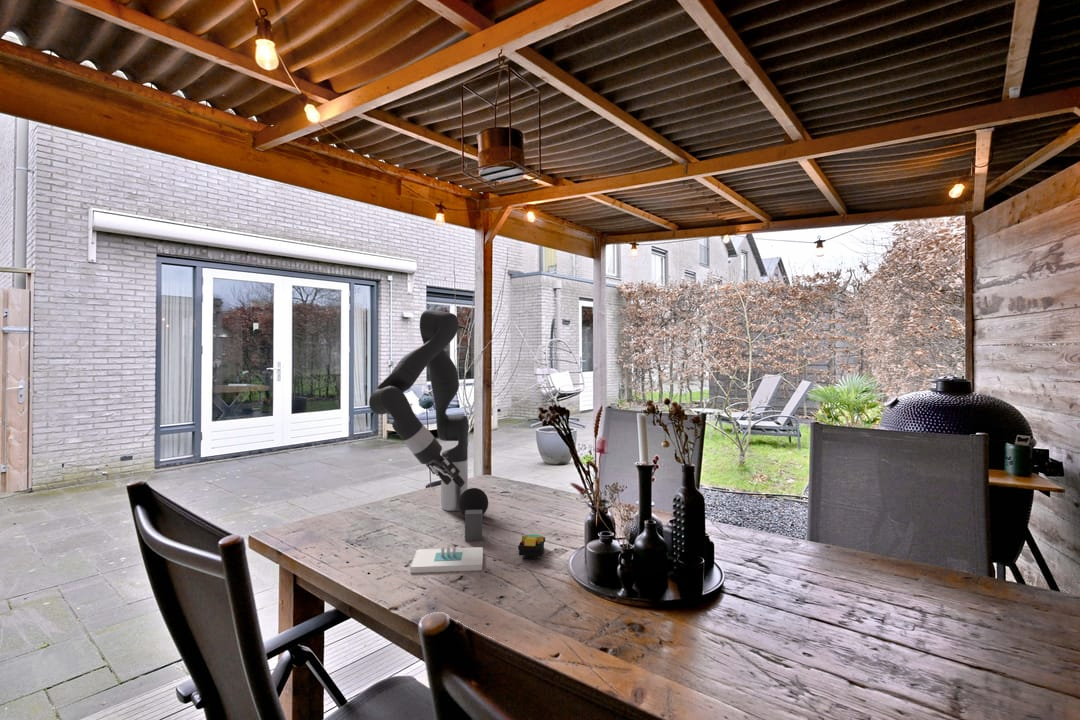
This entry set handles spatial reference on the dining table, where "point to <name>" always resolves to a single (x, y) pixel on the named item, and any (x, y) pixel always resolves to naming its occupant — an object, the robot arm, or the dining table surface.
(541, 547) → the black bowl with blocks
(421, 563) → the board
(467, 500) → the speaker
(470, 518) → the block
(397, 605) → the dining table surface
